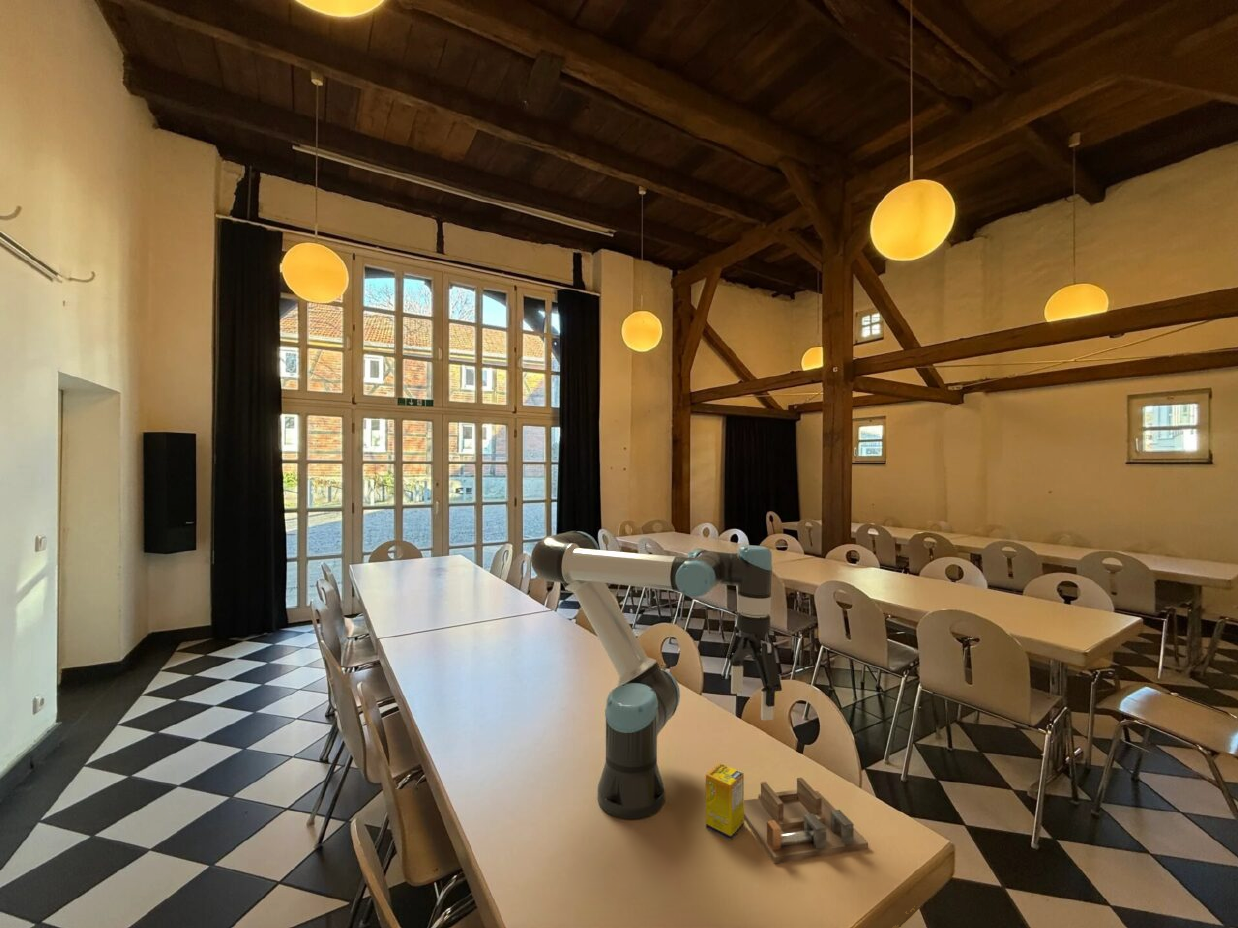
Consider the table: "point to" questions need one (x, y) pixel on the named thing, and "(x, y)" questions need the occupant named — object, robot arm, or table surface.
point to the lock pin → (786, 836)
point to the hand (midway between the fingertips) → (751, 705)
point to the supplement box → (725, 800)
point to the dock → (801, 823)
